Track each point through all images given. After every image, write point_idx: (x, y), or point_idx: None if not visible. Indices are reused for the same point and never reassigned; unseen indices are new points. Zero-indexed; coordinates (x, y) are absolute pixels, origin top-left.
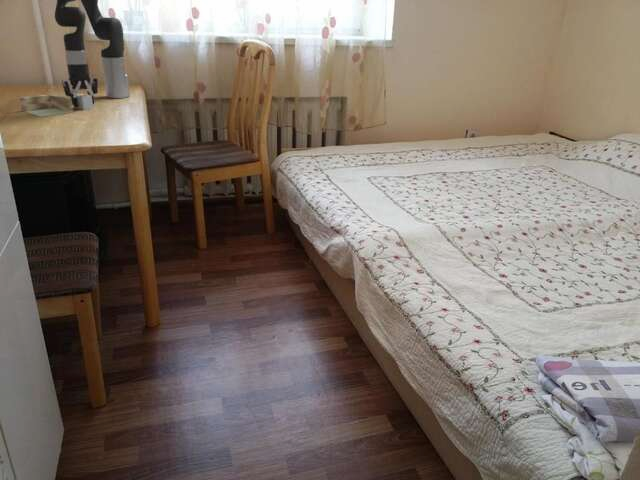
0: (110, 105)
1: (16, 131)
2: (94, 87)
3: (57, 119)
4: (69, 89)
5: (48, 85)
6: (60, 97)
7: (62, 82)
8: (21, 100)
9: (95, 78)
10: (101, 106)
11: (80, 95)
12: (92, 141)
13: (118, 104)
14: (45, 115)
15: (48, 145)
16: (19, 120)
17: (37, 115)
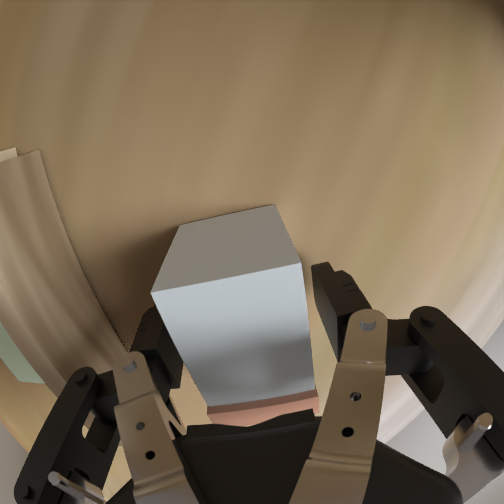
0: (446, 254)
1: (30, 446)
2: (429, 408)
3: (86, 428)
4: (105, 465)
5: None
6: (43, 375)
7: (25, 493)
8: None
9: (492, 479)
10: (390, 263)
11: (235, 357)
12: None
13: (486, 244)
14: (32, 381)
15: (107, 500)
16: None
17: (5, 362)
